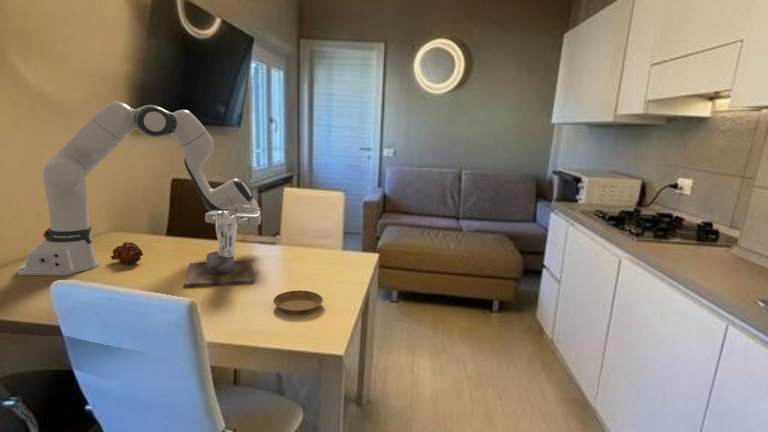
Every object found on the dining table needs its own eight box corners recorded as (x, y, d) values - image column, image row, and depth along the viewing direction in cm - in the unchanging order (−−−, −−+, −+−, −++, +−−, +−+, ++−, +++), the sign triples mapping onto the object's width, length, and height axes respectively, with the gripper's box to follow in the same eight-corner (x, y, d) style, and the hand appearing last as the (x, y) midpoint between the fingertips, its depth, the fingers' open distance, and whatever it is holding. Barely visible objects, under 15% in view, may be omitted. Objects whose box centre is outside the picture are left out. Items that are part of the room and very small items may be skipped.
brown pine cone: (140, 270, 158) (115, 269, 162) (153, 252, 164) (128, 252, 168) (125, 255, 152) (99, 255, 156) (139, 237, 158) (114, 237, 162)
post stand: (183, 287, 141) (182, 266, 139) (189, 265, 161) (189, 247, 160) (254, 283, 148) (253, 263, 146) (251, 263, 168) (251, 245, 167)
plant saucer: (332, 308, 132) (332, 300, 132) (293, 323, 121) (293, 314, 121) (302, 294, 142) (302, 286, 141) (263, 306, 131) (263, 298, 130)
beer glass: (240, 252, 156) (240, 212, 152) (232, 259, 150) (231, 218, 145) (221, 249, 157) (221, 210, 152) (212, 256, 150) (211, 215, 146)
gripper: (212, 205, 171) (197, 212, 157) (264, 208, 171) (254, 215, 157) (212, 221, 172) (198, 229, 158) (264, 223, 172) (254, 232, 159)
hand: (226, 222), depth 158 cm, fingers open, 8 cm apart
